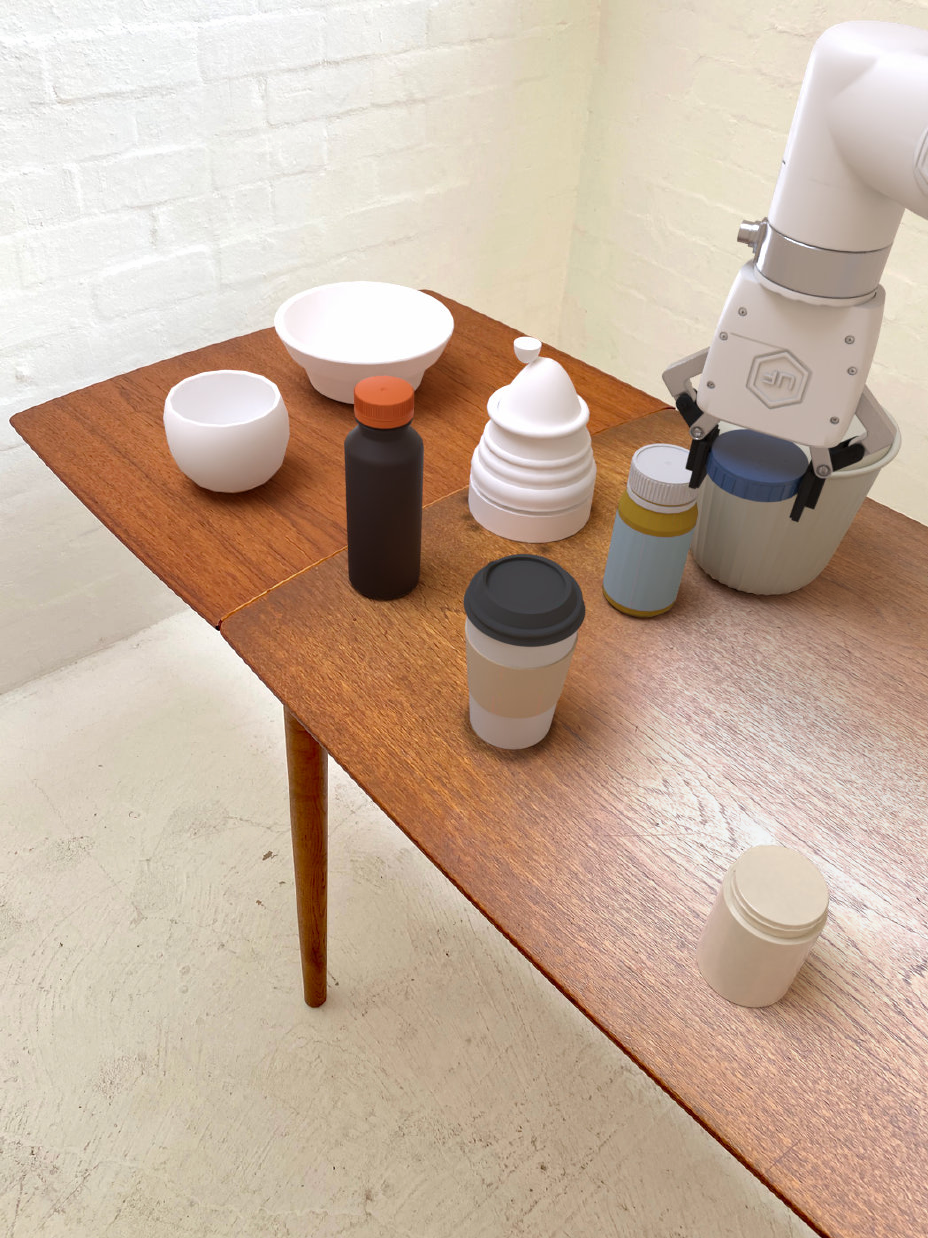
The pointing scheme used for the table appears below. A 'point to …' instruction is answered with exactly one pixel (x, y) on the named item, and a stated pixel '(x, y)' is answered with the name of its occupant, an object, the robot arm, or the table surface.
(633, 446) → the table surface
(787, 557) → the canister
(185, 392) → the cup
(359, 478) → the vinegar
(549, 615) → the coffee cup
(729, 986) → the jar
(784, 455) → the lid
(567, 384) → the honey pot
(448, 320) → the bowl
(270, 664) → the table surface
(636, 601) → the bottle
